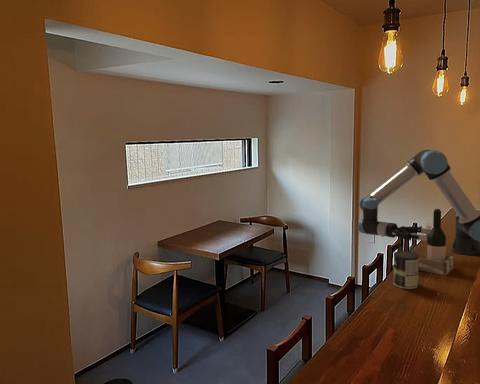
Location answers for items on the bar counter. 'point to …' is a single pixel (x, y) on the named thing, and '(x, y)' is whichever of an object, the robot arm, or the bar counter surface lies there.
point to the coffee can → (406, 269)
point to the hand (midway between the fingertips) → (430, 235)
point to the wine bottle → (436, 239)
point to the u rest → (437, 265)
